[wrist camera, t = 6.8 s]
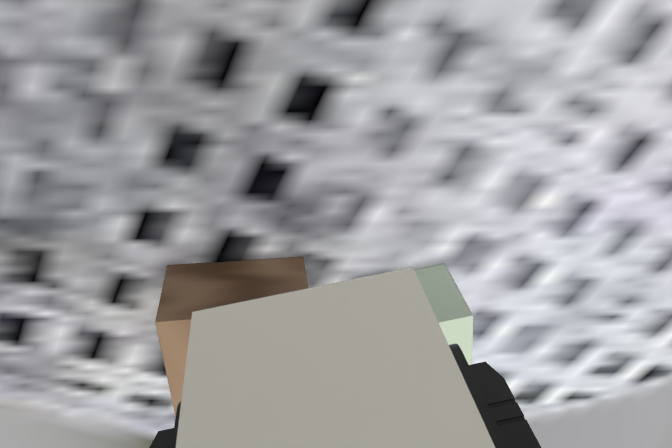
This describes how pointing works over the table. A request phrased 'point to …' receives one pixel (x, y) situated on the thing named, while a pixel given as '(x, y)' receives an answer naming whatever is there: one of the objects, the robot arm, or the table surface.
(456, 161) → the table surface
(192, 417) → the cream cube
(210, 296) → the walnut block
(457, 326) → the sage green cube
